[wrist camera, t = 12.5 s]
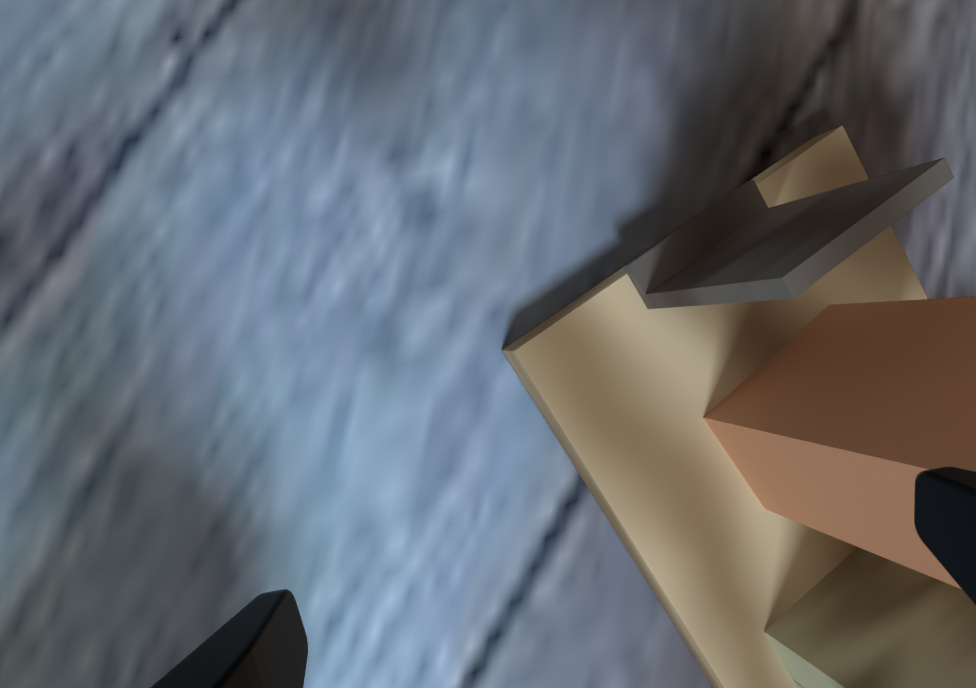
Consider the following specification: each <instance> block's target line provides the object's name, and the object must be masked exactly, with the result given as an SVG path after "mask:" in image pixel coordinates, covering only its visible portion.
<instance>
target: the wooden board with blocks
mask: <svg viewBox="0 0 976 688" xmlns="http://www.w3.org/2000/svg"><path fill="white" fill-rule="evenodd" d="M953 178H954V176H953V174H952V172H951V169H950V167H949V165H948V163H947V161H946V159H945V158H941V159H938V160H934V161H931V162H927V163H924V164H920V165H917V166H913V167H910V168H906V169H903V170H899V171H896V172H892V173H889V174H885V175H882V176H878V177H875V178H871V179H869V178H868V176H867V174H866V172H865V170H864V168H863V166H862V164H861V162H860V160H859V158H858V156H857V154H856V152H855V150H854V148H853V146H852V144H851V141H850V139H849V137H848V135H847V133H846V131H845V129H844V127H843V125H842V126H840V127H837V128H835V129H833V130H830V131H828V132H825V133H823V134H820V135H818V136H815V137H813V138H811V139H810V140H808V141H807V142H806V143H804V144H803V145H801V146H800V147H798V148H797V149H795V150H794V151H792V152H791V153H789V154H788V155H787V156H785V157H784V158H782V159H781V160H779V161H778V162H776V163H775V164H773V165H772V166H770V167H769V168H767V169H766V170H765V171H763V172H762V173H760V174H759V175H757V176H756V177H754V178H753V179H751V180H750V181H748V182H746V183H744V184H743V185H741V186H740V187H738V188H737V189H735V190H734V191H732V192H731V193H730V194H728V195H727V196H725V197H724V198H722V199H721V200H719V201H718V202H716V203H715V204H713V205H712V206H710V207H709V208H708V209H706V210H705V211H703V212H702V213H700V214H699V215H697V216H696V217H694V218H693V219H691V220H690V221H689V222H687V223H686V224H684V225H683V226H681V227H680V228H678V229H677V230H675V231H674V232H672V233H671V234H669V235H668V236H667V237H665V238H664V239H662V240H661V241H659V242H658V243H656V244H655V245H653V246H652V247H650V248H649V249H647V250H646V251H645V252H643V253H642V254H640V255H639V256H637V257H636V258H634V259H633V260H631V261H630V262H628V263H627V264H626V265H624V266H623V268H621V269H620V270H618V271H617V272H615V273H614V274H612V275H611V276H609V277H608V278H606V279H605V280H604V281H602V282H601V283H599V284H598V285H596V286H595V287H593V288H592V289H590V290H589V291H587V292H586V293H585V294H583V295H582V296H580V297H579V298H577V299H576V300H574V301H573V302H571V303H570V304H568V305H567V306H566V307H564V308H563V309H561V310H560V311H558V312H557V313H555V314H554V315H552V316H551V317H549V318H548V319H546V320H545V321H544V322H542V323H541V324H539V325H538V326H536V327H535V328H533V329H532V330H530V331H529V332H527V333H526V334H525V335H523V336H522V337H520V338H519V339H517V340H516V341H514V342H513V343H511V344H510V345H508V346H507V347H506V348H504V349H503V350H502V352H503V353H504V355H505V356H506V358H507V360H508V361H509V363H510V364H511V366H512V368H513V369H514V371H515V372H516V374H517V376H518V377H519V379H520V380H521V382H522V384H523V385H524V387H525V388H526V390H527V391H528V393H529V395H530V396H531V398H532V399H533V401H534V403H535V404H536V406H537V407H538V409H539V411H540V412H541V414H542V415H543V417H544V419H545V420H546V422H547V423H548V425H549V426H550V428H551V430H552V431H553V433H554V434H555V436H556V438H557V439H558V441H559V442H560V444H561V446H562V447H563V449H564V450H565V452H566V453H567V455H568V457H569V458H570V460H571V461H572V463H573V465H574V466H575V468H576V469H577V471H578V473H579V474H580V476H581V477H582V479H583V481H584V482H585V484H586V485H587V487H588V488H589V490H590V492H591V493H592V495H593V496H594V498H595V500H596V501H597V503H598V504H599V506H600V508H601V509H602V511H603V512H604V514H605V515H606V517H607V519H608V520H609V522H610V523H611V525H612V527H613V528H614V530H615V531H616V533H617V535H618V536H619V538H620V539H621V541H622V543H623V544H624V546H625V547H626V549H627V550H628V552H629V554H630V555H631V557H632V558H633V560H634V562H635V563H636V565H637V566H638V568H639V570H640V571H641V573H642V574H643V576H644V577H645V579H646V581H647V582H648V584H649V585H650V587H651V589H652V590H653V592H654V593H655V595H656V597H657V598H658V600H659V601H660V603H661V605H662V606H663V608H664V609H665V611H666V612H667V614H668V616H669V617H670V619H671V620H672V622H673V624H674V625H675V627H676V628H677V630H678V632H679V633H680V635H681V636H682V638H683V640H684V641H685V643H686V644H687V646H688V647H689V649H690V651H691V652H692V654H693V655H694V657H695V659H696V660H697V662H698V663H699V665H700V667H701V668H702V670H703V671H704V673H705V674H706V676H707V678H708V679H709V681H710V682H711V684H712V686H713V687H714V688H976V606H975V604H974V603H973V602H972V601H971V600H970V598H969V597H968V596H967V595H966V594H965V592H964V591H963V590H962V589H960V588H957V587H955V586H952V585H950V584H947V583H945V582H943V581H940V580H938V579H935V578H933V577H930V576H928V575H925V574H923V573H921V572H918V571H916V570H913V569H911V568H908V567H906V566H903V565H901V564H898V563H896V562H894V561H891V560H889V559H886V558H884V557H881V556H879V555H876V554H874V553H872V552H869V551H867V550H864V549H862V548H859V547H857V546H854V545H852V544H849V543H847V542H845V541H842V540H840V539H837V538H835V537H832V536H830V535H827V534H825V533H823V532H820V531H818V530H815V529H813V528H810V527H808V526H805V525H803V524H800V523H798V522H796V521H793V520H791V519H788V518H786V517H783V516H781V515H778V514H776V513H774V512H771V511H769V510H766V509H765V508H764V507H763V505H762V504H761V502H760V501H759V499H758V498H757V497H756V495H755V494H754V492H753V491H752V489H751V488H750V486H749V485H748V483H747V482H746V480H745V479H744V477H743V476H742V474H741V473H740V471H739V470H738V468H737V467H736V465H735V464H734V463H733V461H732V460H731V458H730V457H729V455H728V454H727V452H726V451H725V449H724V448H723V446H722V445H721V443H720V442H719V440H718V439H717V437H716V436H715V434H714V433H713V432H712V430H711V429H710V427H709V426H708V424H707V423H706V421H705V420H704V418H703V417H704V416H705V415H706V414H708V413H709V412H710V411H711V410H712V409H713V408H714V407H715V406H717V405H718V404H719V403H720V402H721V401H722V400H723V399H724V398H725V397H727V396H728V395H729V394H730V393H731V392H732V391H733V390H734V389H736V388H737V387H738V386H739V385H740V384H741V383H742V382H743V381H744V380H746V379H747V378H748V377H749V376H750V375H751V374H752V373H753V372H755V371H756V370H757V369H758V368H759V367H760V366H761V365H762V364H764V363H765V362H766V361H767V360H768V359H769V358H770V357H771V356H772V355H774V354H775V353H776V352H777V351H778V350H779V349H780V348H781V347H783V346H784V345H785V344H786V343H787V342H788V341H789V340H790V339H791V338H793V337H794V336H795V335H796V334H797V333H798V332H799V331H800V330H802V329H803V328H804V327H805V326H806V325H807V324H808V323H809V322H810V321H812V320H813V319H814V318H815V317H816V316H817V315H818V314H819V313H821V312H822V311H823V310H824V309H825V308H826V307H827V306H828V305H832V304H850V303H867V302H885V301H903V300H921V299H928V298H927V296H926V294H925V292H924V290H923V288H922V286H921V284H920V282H919V280H918V278H917V276H916V274H915V272H914V270H913V268H912V266H911V264H910V262H909V260H908V258H907V256H906V254H905V251H904V249H903V247H902V245H901V243H900V241H899V239H898V237H897V235H896V233H895V231H894V229H893V227H892V224H893V223H894V222H896V221H897V220H898V219H900V218H901V217H902V216H904V215H905V214H906V213H908V212H909V211H910V210H912V209H913V208H914V207H916V206H917V205H918V204H920V203H921V202H922V201H924V200H925V199H926V198H928V197H929V196H930V195H932V194H933V193H934V192H936V191H937V190H938V189H940V188H941V187H942V186H944V185H945V184H946V183H948V182H949V181H950V180H952V179H953Z"/></svg>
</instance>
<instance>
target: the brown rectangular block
mask: <svg viewBox="0 0 976 688" xmlns="http://www.w3.org/2000/svg"><path fill="white" fill-rule="evenodd" d="M703 418H704V420H705V421H706V423H707V424H708V426H709V427H710V429H711V430H712V432H713V433H714V434H715V436H716V437H717V439H718V440H719V442H720V443H721V445H722V446H723V448H724V449H725V451H726V452H727V454H728V455H729V457H730V458H731V460H732V461H733V463H734V464H735V465H736V467H737V468H738V470H739V471H740V473H741V474H742V476H743V477H744V479H745V480H746V482H747V483H748V485H749V486H750V488H751V489H752V491H753V492H754V494H755V495H756V497H757V498H758V499H759V501H760V502H761V504H762V505H763V507H764V508H765V509H766V510H769V511H771V512H774V513H776V514H778V515H781V516H783V517H786V518H788V519H791V520H793V521H796V522H798V523H800V524H803V525H805V526H808V527H810V528H813V529H815V530H818V531H820V532H823V533H825V534H827V535H830V536H832V537H835V538H837V539H840V540H842V541H845V542H847V543H849V544H852V545H854V546H857V547H859V548H862V549H864V550H867V551H869V552H872V553H874V554H876V555H879V556H881V557H884V558H886V559H889V560H891V561H894V562H896V563H898V564H901V565H903V566H906V567H908V568H911V569H913V570H916V571H918V572H921V573H923V574H925V575H928V576H930V577H933V578H935V579H938V580H940V581H943V582H945V583H947V584H950V585H952V586H955V587H957V588H960V586H959V585H958V584H957V583H956V582H955V580H954V579H953V578H952V577H951V576H950V574H949V573H948V572H947V571H946V570H945V568H944V567H943V566H942V565H941V564H940V562H939V561H938V560H937V559H936V558H935V556H934V555H933V554H932V553H931V552H930V550H929V549H928V548H927V547H926V546H925V544H924V543H923V542H922V540H921V539H920V537H919V536H918V534H917V531H916V529H915V524H914V494H915V479H916V476H917V475H918V474H919V473H920V472H921V471H925V470H930V469H935V468H940V467H949V466H951V467H956V468H961V469H965V470H970V471H975V472H976V296H974V297H957V298H939V299H921V300H903V301H885V302H867V303H850V304H832V305H828V306H827V307H826V308H825V309H824V310H823V311H822V312H821V313H819V314H818V315H817V316H816V317H815V318H814V319H813V320H812V321H810V322H809V323H808V324H807V325H806V326H805V327H804V328H803V329H802V330H800V331H799V332H798V333H797V334H796V335H795V336H794V337H793V338H791V339H790V340H789V341H788V342H787V343H786V344H785V345H784V346H783V347H781V348H780V349H779V350H778V351H777V352H776V353H775V354H774V355H772V356H771V357H770V358H769V359H768V360H767V361H766V362H765V363H764V364H762V365H761V366H760V367H759V368H758V369H757V370H756V371H755V372H753V373H752V374H751V375H750V376H749V377H748V378H747V379H746V380H744V381H743V382H742V383H741V384H740V385H739V386H738V387H737V388H736V389H734V390H733V391H732V392H731V393H730V394H729V395H728V396H727V397H725V398H724V399H723V400H722V401H721V402H720V403H719V404H718V405H717V406H715V407H714V408H713V409H712V410H711V411H710V412H709V413H708V414H706V415H705V416H704V417H703ZM960 589H961V588H960Z"/></svg>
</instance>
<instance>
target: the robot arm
mask: <svg viewBox="0 0 976 688" xmlns="http://www.w3.org/2000/svg"><path fill="white" fill-rule="evenodd" d="M914 524H915V529H916V531H917V534H918V536H919V537H920V539H921V540H922V542H923V543H924V544H925V546H926V547H927V548H928V549H929V550H930V552H931V553H932V554H933V555H934V556H935V558H936V559H937V560H938V561H939V562H940V564H941V565H942V566H943V567H944V568H945V570H946V571H947V572H948V573H949V574H950V576H951V577H952V578H953V579H954V580H955V582H956V583H957V584H958V585H959V586H960V588H961V589H962V590H963V591H964V592H965V594H966V595H967V596H968V597H969V598H970V600H971V601H972V602H973V603H974V604H975V606H976V472H975V471H970V470H965V469H961V468H956V467H951V466H949V467H940V468H935V469H930V470H925V471H921V472H920V473H919V474H918V475H917V476H916V479H915V494H914ZM307 655H308V642H307V636H306V633H305V629H304V626H303V623H302V620H301V617H300V613H299V610H298V607H297V604H296V600H295V598H294V595H293V594H292V592H291V591H289V590H287V589H284V590H278V591H273V592H267V593H263V594H260V595H259V596H257V597H256V598H255V599H254V600H253V601H251V602H250V603H249V604H248V605H247V606H246V607H244V608H243V609H242V610H241V611H240V612H238V613H237V614H236V615H235V616H234V617H233V618H231V619H230V620H229V621H228V622H227V623H226V624H224V625H223V626H222V627H221V628H220V629H219V630H217V631H216V632H215V633H214V634H213V635H212V636H210V637H209V638H208V639H207V640H206V641H205V642H203V643H202V644H201V645H200V646H199V647H198V648H196V649H195V650H194V651H193V652H192V653H191V654H189V655H188V656H187V657H186V658H185V659H184V660H182V661H181V662H180V663H179V664H178V665H177V666H175V667H174V668H173V669H172V670H171V671H170V672H168V673H167V674H166V675H165V676H164V677H163V678H161V679H160V680H159V681H158V682H157V683H155V684H154V685H153V686H152V687H151V688H303V685H304V677H305V670H306V663H307Z"/></svg>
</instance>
